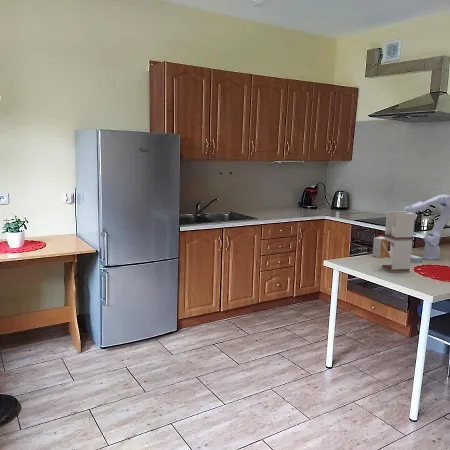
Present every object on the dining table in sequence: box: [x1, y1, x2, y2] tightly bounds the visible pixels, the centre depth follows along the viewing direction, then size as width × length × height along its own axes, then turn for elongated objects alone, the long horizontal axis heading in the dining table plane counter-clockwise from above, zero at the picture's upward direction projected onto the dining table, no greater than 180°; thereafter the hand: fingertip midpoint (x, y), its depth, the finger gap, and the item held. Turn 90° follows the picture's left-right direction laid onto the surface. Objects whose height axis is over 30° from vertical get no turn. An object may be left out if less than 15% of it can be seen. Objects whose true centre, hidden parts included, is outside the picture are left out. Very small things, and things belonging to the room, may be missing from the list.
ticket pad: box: [410, 254, 424, 264], centre depth 286 cm, size 7×13×3 cm, turn 22°
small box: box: [371, 236, 390, 259], centre depth 295 cm, size 8×6×13 cm
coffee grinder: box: [381, 210, 416, 274], centre depth 258 cm, size 11×11×35 cm
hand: (405, 244), depth 292 cm, fingers closed
